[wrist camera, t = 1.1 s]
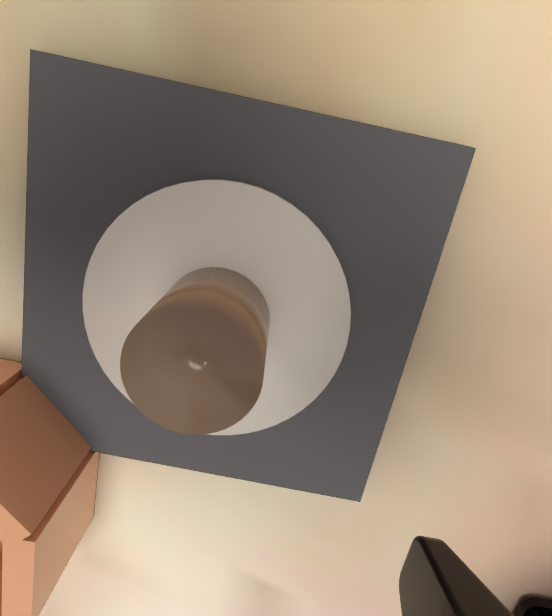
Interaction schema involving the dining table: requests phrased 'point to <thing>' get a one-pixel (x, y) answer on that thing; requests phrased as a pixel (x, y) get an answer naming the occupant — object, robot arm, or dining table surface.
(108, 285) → the lid
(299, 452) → the trivet
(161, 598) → the dining table surface
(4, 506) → the bowl
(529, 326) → the dining table surface
